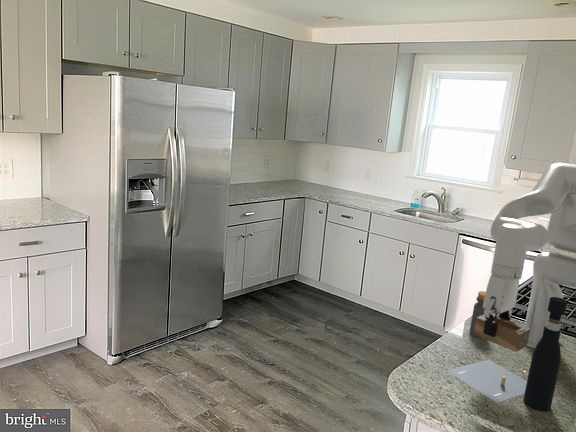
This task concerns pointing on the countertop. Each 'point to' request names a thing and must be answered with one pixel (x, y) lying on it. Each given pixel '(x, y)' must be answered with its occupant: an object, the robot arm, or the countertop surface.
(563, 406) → the countertop surface
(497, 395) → the board
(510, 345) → the frame
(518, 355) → the countertop surface
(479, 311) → the bottle
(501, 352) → the countertop surface
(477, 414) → the countertop surface
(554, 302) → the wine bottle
